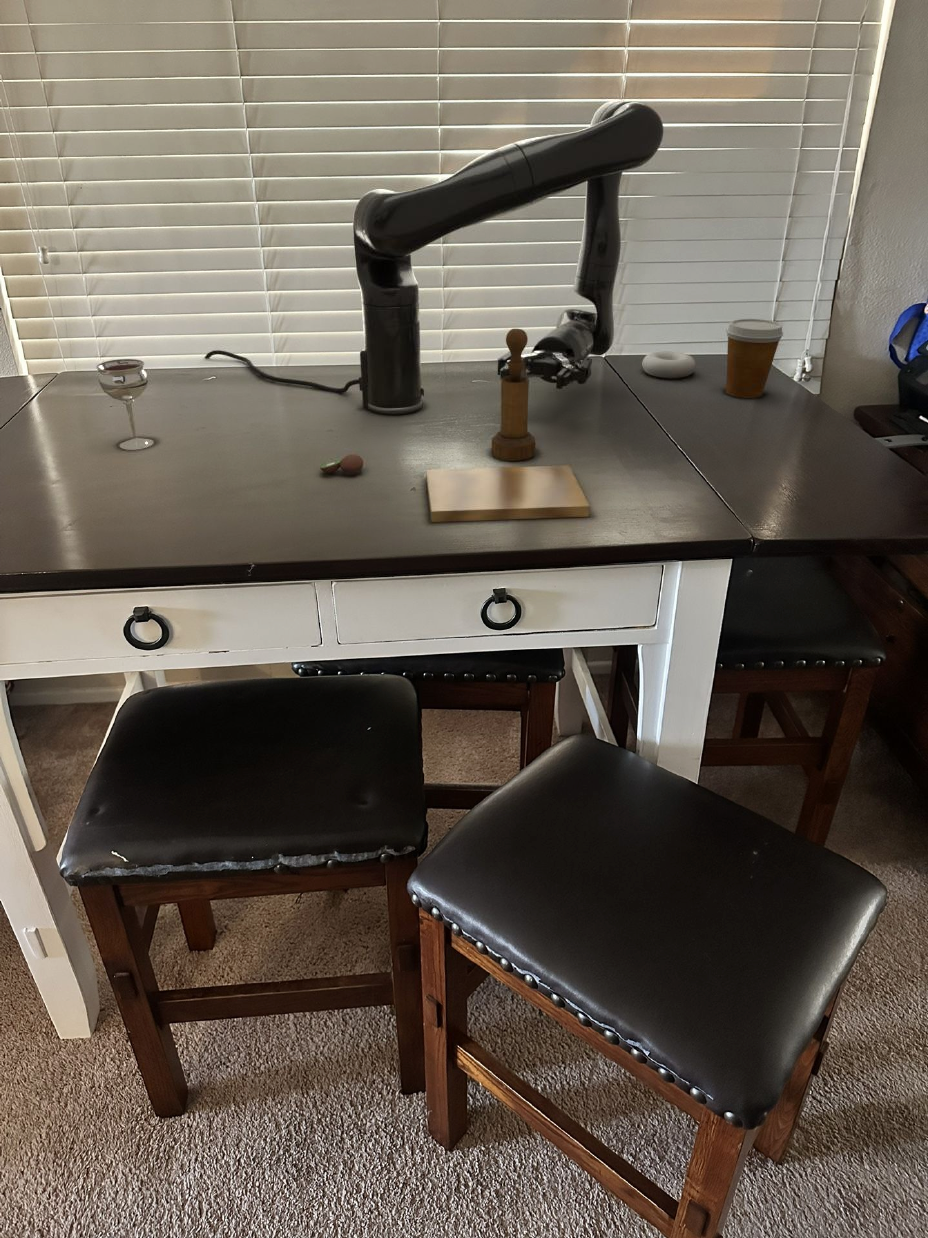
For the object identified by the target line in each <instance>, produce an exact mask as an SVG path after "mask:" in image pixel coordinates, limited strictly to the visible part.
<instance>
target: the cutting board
mask: <svg viewBox="0 0 928 1238" xmlns="http://www.w3.org/2000/svg"><path fill="white" fill-rule="evenodd" d="M425 480H426V489H427V498H428V505H429V513H430V514H429V515H430V521H431V523H447V522H449V523H450V522H478V521H503V520H504V521H505V520H507V521H508V520H532V519H534V520H535V519H558V518H559V519H560V518H561V519H562V518H587V517H588V518H589V517H590V509H591V505H590V503H589V502H588V500H587V497H586V496H585V493H584V491H583V490H582V488H581V486H580V484H579V482H578V480H577V478H576V476H575V474H574V472H573V470H572V468H571V466H570V465H568V464H567V465H541V466H540V465H537V466H536V465H535V466H507V467H506V466H505V467H504V466H503V467H502V466H501V467H475V468H474V467H473V468H439V469H438V468H437V469H436V468H435V469H426V470H425Z"/></svg>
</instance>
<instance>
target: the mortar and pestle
mask: <svg viewBox="0 0 928 1238" xmlns="http://www.w3.org/2000/svg"><path fill="white" fill-rule="evenodd" d="M528 339H529V338H528V334H527V332H526V331H525V330H524V329H522V328H511V329H509V331H508V332H507V334H506V336H505V344H506V346H507V348H508V350H509V352H511V359H510V361H508V369H509V373H510V376H506V377H503V378H502V379H500V431H498V432H496V434H495V435H493V436H492V437H491V454H492V456H493V457H494V458H495V459H498V460H501V461H508V462H519V461H527V460H529V459H532V458H533V457H535V455H536V438H535V436H534V435H532V432H529V431H528V421H529V420H528V417H529V415H528V414H529V387H530V386H529V385H530V379H529V378H527V377H524V376H521V373H522V369H523V365H524V362H523V361H522V359H521V355H523V352H524V350H525V348H526V346H527V345H528V341H529V340H528Z"/></svg>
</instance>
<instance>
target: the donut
mask: <svg viewBox="0 0 928 1238" xmlns="http://www.w3.org/2000/svg"><path fill="white" fill-rule="evenodd" d="M641 366H642V368H643V371H644V372H645V373H646V374H647V375H649V376H652V377H656V378H661V379H681V378H686V377H689V376H691V374H693V372H694V370H695V368H696V361H695V359H694V357H692V355H689V354H688V353H684V352H680V351H675V350H674V351H673V350H659V351H653V352H650V353H648V354H646V355H645V357H644V358H643V360H642V362H641Z"/></svg>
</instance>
